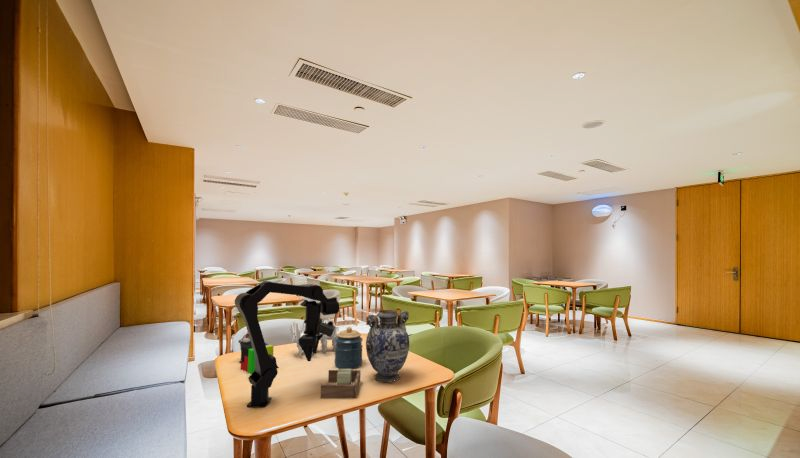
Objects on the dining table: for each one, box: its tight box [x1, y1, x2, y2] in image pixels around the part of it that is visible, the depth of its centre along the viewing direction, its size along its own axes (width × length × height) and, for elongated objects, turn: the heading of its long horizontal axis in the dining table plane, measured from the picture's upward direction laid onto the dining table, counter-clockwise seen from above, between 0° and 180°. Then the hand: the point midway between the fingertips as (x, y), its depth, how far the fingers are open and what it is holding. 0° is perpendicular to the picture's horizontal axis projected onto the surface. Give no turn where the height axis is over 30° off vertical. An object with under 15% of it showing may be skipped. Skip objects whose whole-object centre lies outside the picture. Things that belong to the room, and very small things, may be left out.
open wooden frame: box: [319, 369, 361, 399], centre depth 131 cm, size 16×13×4 cm
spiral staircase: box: [289, 317, 341, 357], centre depth 177 cm, size 18×18×25 cm
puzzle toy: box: [240, 342, 274, 375], centre depth 153 cm, size 10×10×10 cm
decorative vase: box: [365, 309, 410, 383], centre depth 144 cm, size 21×19×28 cm
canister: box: [334, 326, 363, 370], centre depth 159 cm, size 13×13×18 cm
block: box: [336, 368, 353, 385], centre depth 131 cm, size 5×5×7 cm
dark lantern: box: [238, 332, 251, 364], centre depth 162 cm, size 7×7×15 cm
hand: (312, 357), depth 131 cm, fingers open, 9 cm apart
